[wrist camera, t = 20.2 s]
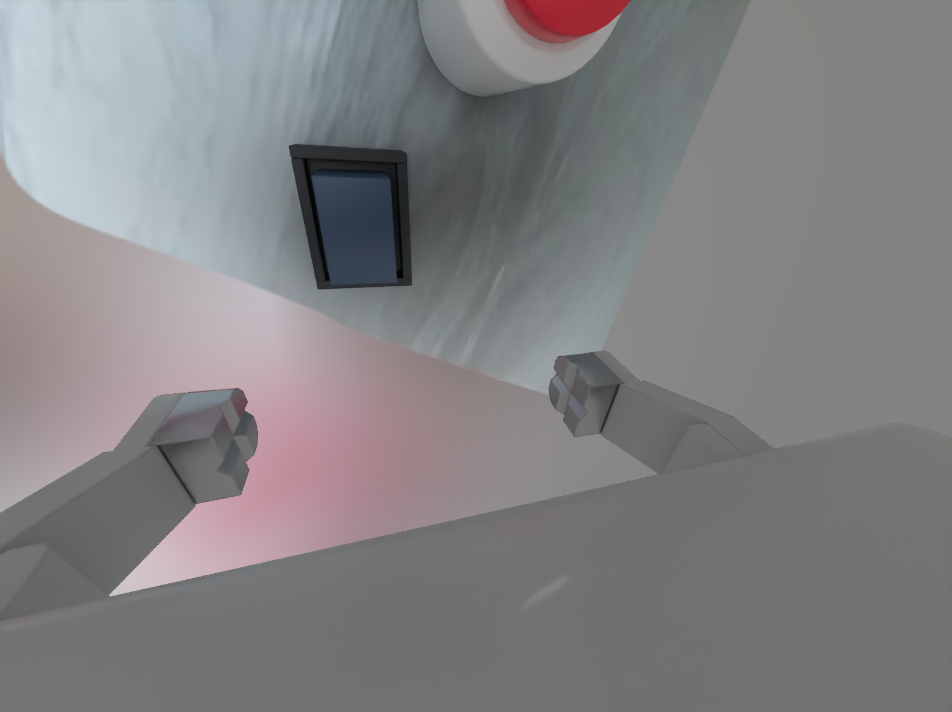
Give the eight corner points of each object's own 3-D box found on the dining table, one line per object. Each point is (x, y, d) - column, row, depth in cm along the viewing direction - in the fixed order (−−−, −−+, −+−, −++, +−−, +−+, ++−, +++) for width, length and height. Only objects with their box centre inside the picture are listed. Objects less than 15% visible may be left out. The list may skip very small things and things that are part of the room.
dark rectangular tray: (294, 144, 20) (288, 145, 19) (402, 150, 22) (406, 152, 20) (320, 278, 25) (317, 289, 23) (408, 275, 26) (412, 285, 25)
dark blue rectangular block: (318, 168, 21) (311, 175, 18) (385, 171, 22) (390, 178, 19) (334, 264, 24) (330, 285, 21) (392, 263, 25) (397, 282, 22)
